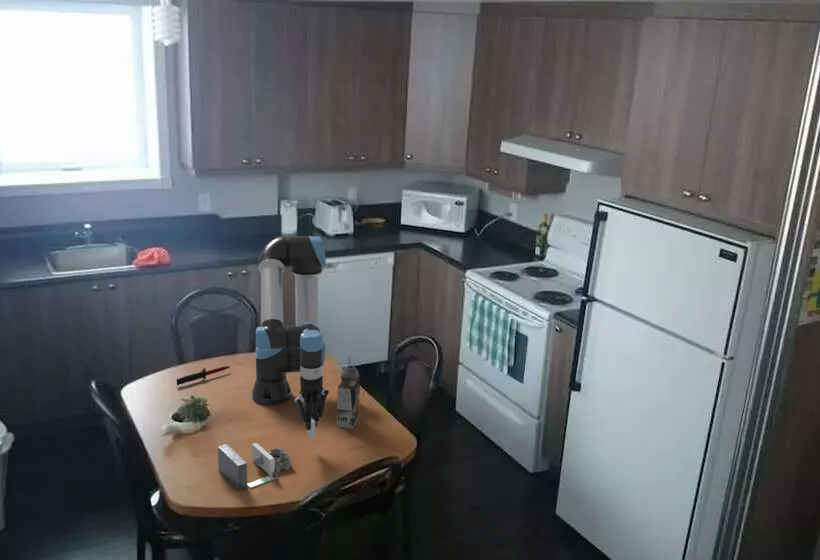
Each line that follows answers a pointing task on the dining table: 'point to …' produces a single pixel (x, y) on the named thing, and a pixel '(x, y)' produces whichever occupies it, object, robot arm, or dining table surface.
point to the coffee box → (348, 402)
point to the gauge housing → (237, 469)
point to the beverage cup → (350, 372)
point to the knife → (199, 375)
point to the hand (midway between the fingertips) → (311, 436)
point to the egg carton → (280, 459)
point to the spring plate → (263, 459)
